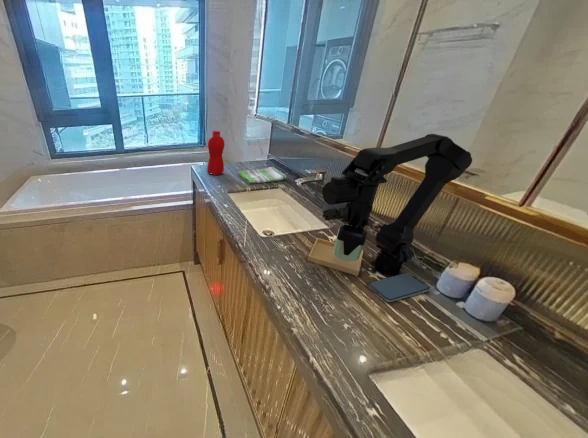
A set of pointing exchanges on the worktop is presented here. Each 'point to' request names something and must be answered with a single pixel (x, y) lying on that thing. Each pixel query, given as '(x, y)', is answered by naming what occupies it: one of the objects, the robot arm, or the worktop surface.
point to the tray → (332, 257)
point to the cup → (339, 251)
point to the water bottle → (215, 154)
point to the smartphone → (398, 287)
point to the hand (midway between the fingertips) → (347, 248)
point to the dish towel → (262, 175)
